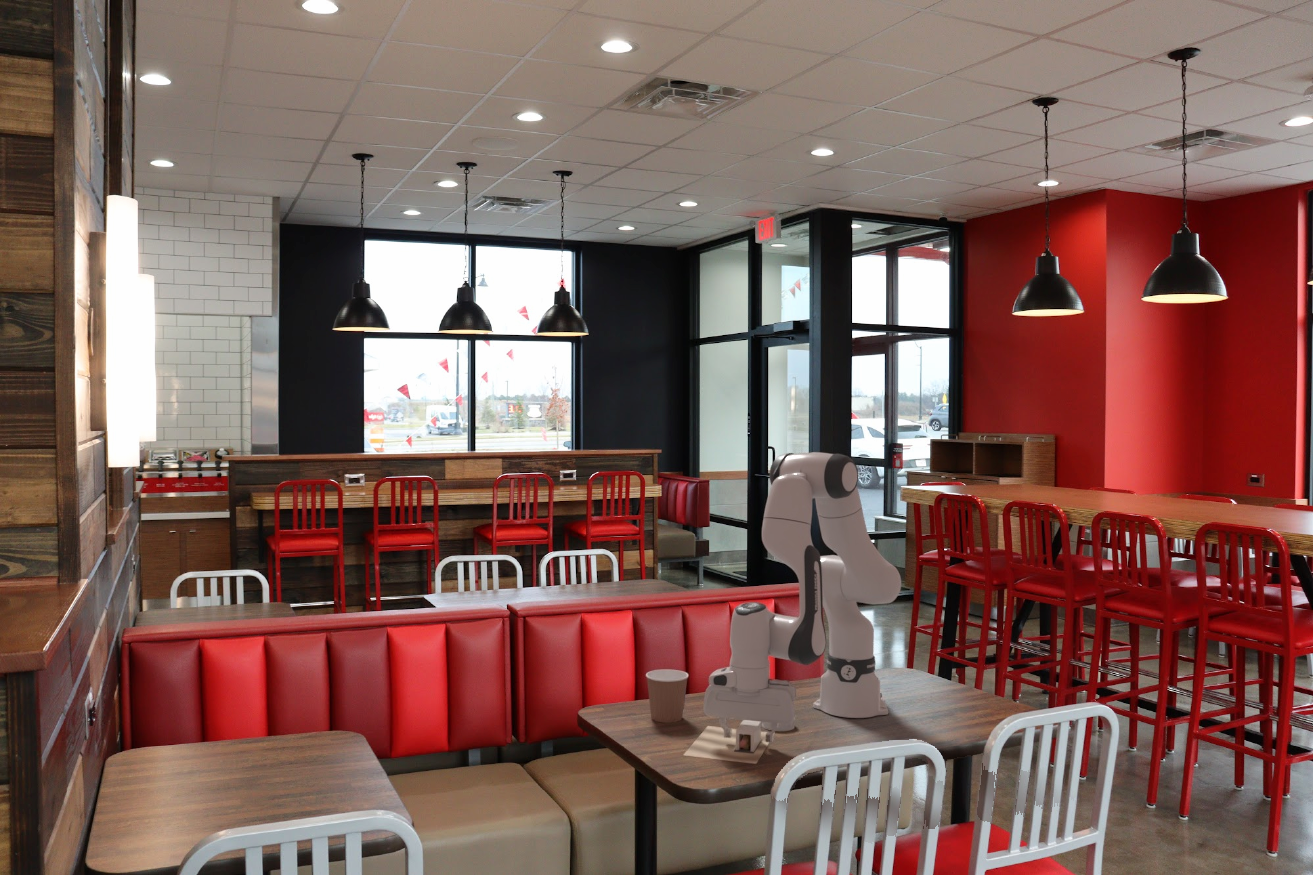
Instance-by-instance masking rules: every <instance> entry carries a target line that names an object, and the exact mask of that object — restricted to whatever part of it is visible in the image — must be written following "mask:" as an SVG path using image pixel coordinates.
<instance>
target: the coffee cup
mask: <svg viewBox="0 0 1313 875" xmlns="http://www.w3.org/2000/svg"><path fill="white" fill-rule="evenodd" d="M645 677H646V681H647V689H648V699H649V700H648V701H649V710H650V718H651V720H653V721H655V722H658V723H668V724H669V723H677V722H679V721H681V720H683V715H684V714H683V713H684V709H685V702H686V701H685V700H686V692H687V682H688V678H689V673H688V672H686V671H683V670H678V669H677V670H676V669H670V668H669V669H668V668H667V669H654V670H651V671H648V672H646V674H645Z"/></svg>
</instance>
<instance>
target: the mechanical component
mask: <svg viewBox="0 0 1313 875" xmlns="http://www.w3.org/2000/svg"><path fill="white" fill-rule="evenodd" d="M795 727H796V725H795V719H794V720H793V721H792V722H791V723H790V724H780V723H779V726H778V727H777V729H776V731H775V732H789V731H792V730H795ZM761 728H763V729H765V730H768V731H772V729H773V728H774V727H771V723H770V722H761Z"/></svg>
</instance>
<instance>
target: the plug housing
mask: <svg viewBox="0 0 1313 875" xmlns="http://www.w3.org/2000/svg"><path fill="white" fill-rule="evenodd" d="M735 729H736V750H739V749H740V748H743V747H744V746H745V745H746V743H747V742H748V740H747V739H746V738H743V735H745V734H746V735H751V751H752V752H754V751H755V749H756V747H757V746H758V744H759V743H760V741H761V731H762V722H760V721H750V720H741V722H740V724H739V725H738V726H737V728H735Z"/></svg>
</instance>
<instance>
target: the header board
mask: <svg viewBox="0 0 1313 875" xmlns="http://www.w3.org/2000/svg"><path fill="white" fill-rule="evenodd" d="M731 728H732V727H731ZM736 729H737V728H732V732H731V733H732V736H731V738H725V737H724V730H723V728H722V727H721V726H714V725H713V726H711V725H707V726H706V727H705V728H704V730H702V733H701V734H699V736H698V737H697V738H696V739H695V741H693V743H692V744H691V745H690V746H689V748H688V749H687V750H685V752H684V753H683V755H682V756H684V757H685V756H686V757H694V758H701V759H712V760H719V761H729V762H737V763H738V762H739V763H747V764H754V765H756V764H757V763H758V762H759V761H760V759H761V757H762V755H763V753H765V751H766V749H767V747H768V745H769V744H770V742H766V733H767V732H768V731H762V730H761V741H760V743H759V744H758V746H757V747H756V749H755V751H754V752H752V751H751V735H746V734H745V735H743V738H746V739H747V740H748V742H747V743H746V745H745V746H744V747H743V748H740V749H739V750H736ZM775 734H776V732H774V735H775Z"/></svg>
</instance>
